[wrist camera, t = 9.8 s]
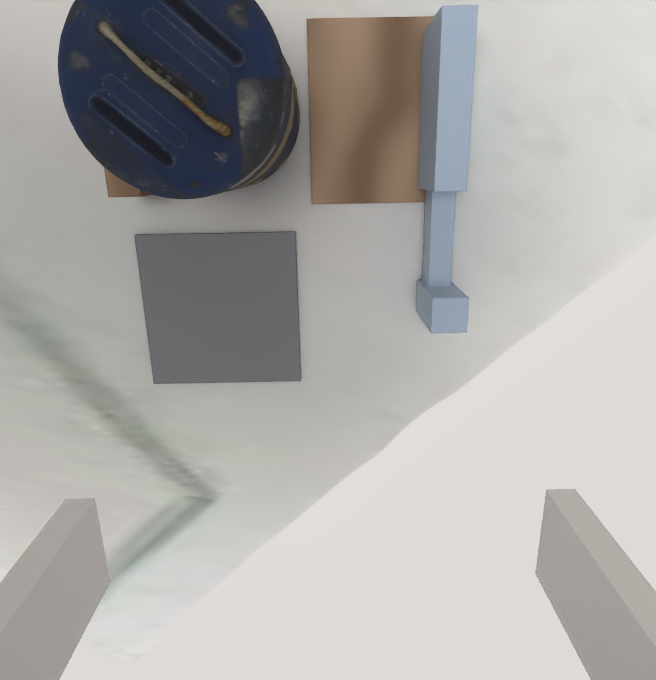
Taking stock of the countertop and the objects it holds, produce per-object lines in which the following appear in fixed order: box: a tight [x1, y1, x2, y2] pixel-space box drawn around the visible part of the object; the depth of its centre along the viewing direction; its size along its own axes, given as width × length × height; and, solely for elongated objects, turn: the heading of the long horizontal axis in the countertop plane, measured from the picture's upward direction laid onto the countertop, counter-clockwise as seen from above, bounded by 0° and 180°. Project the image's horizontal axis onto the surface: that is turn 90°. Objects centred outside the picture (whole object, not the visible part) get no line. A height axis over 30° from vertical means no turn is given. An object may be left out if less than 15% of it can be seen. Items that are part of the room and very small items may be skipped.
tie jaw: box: [416, 5, 478, 333], centre depth 35 cm, size 3×19×6 cm, turn 1°
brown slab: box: [104, 16, 435, 204], centre depth 34 cm, size 23×12×6 cm, turn 91°
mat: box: [134, 232, 301, 384], centre depth 41 cm, size 12×12×1 cm
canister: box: [58, 0, 300, 199], centre depth 28 cm, size 10×10×18 cm
